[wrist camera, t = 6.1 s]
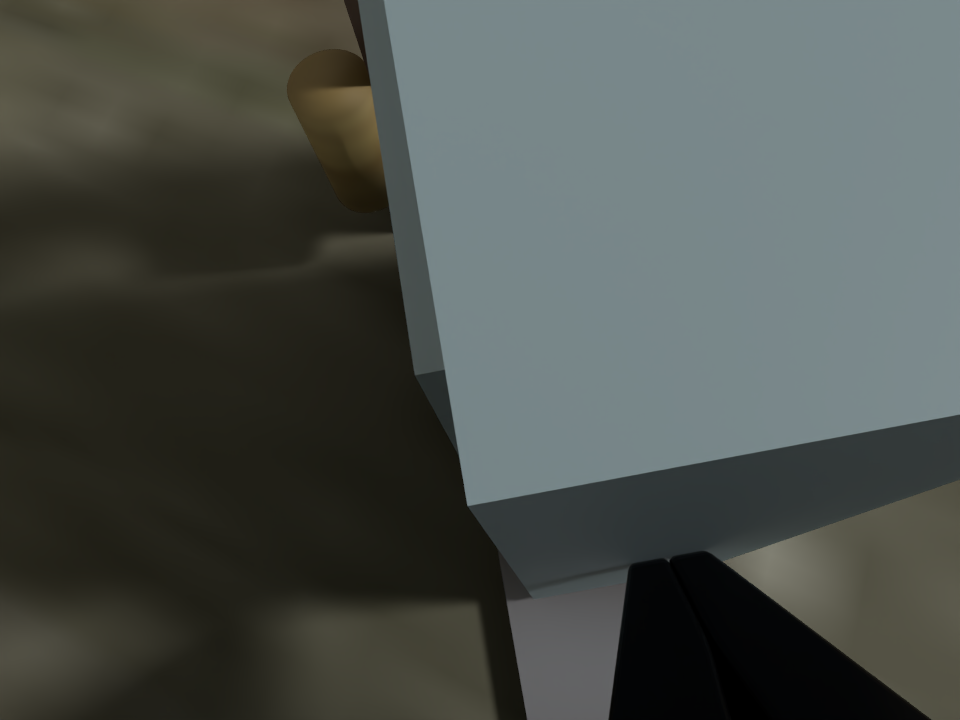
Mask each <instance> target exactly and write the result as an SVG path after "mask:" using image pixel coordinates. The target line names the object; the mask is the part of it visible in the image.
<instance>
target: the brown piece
mask: <svg viewBox="0 0 960 720" xmlns="http://www.w3.org/2000/svg"><path fill="white" fill-rule="evenodd" d="M344 2H345V5H346V8H347V11H348V14H349V17H350V20H351V23H352V26H353V29H354V32H355V35H356V38H357V41H358V44H359V47H360V50H361V53H362V56H363V60H364V61H363V60H362V59H361V58H360V57H359V56H357V55H355V54H354V53H351V52H349V51H346V50H340V49H329V50H323V51H319V52H317V53H314V54H312V55H310V56H308V57H307V58H305V59H304V60H302V61H301V62H300V63H299V64H298V65H297V66H296V67H295V69H294V70H293V72H292V73H291V75H290V77H289V80H288V85H287V94H288V98H289V101H290V103H291V105H292V107H293V109H294V111H295V113H296V115H297V117H298V119H299V121H300V123H301V125H302V127H303V129H304V131H305V133H306V135H307V137H308V139H309V141H310V143H311V145H312V147H313V149H314V151H315V153H316V155H317V157H318V159H319V161H320V163H321V165H322V167H323V169H324V171H325V173H326V175H327V177H328V179H329V181H330V183H331V185H332V187H333V189H334V191H335V193H336V195H337V197H338V199H339V200H340V202H341V203H342V204H343V205H344V206H346V207H347V208H349V209H350V210H353V211H356V212H361V213H371V212H376V211H379V210H382V209H384V208H386V207H387V206H389V202H388V196H387V189H386V182H385V176H384V169H383V163H382V156H381V149H380V143H379V136H378V130H377V123H376V116H375V110H374V103H373V97H372V90H371V83H370V77H369V70H368V63H367V57H366V50H365V44H364V37H363V30H362V24H361V17H360V11H359V4H358V0H344ZM497 550H498V548H497ZM498 555H499V561H500V567H501V573H502V578H503V584H504V590H505V595H506V601H507V607H508V613H509V618H510V624H511V630H512V636H513V641H514V647H515V653H516V658H517V664H518V670H519V676H520V681H521V687H522V693H523V698H524V704H525V710H526V716H527V720H608V718H609V711H610V703H611V696H612V688H613V681H614V673H615V666H616V658H617V650H618V643H619V635H620V628H621V620H622V613H623V605H624V598H625V590H626V583H621V584H616V585H610V586H605V587H599V588H594V589H588V590H583V591H577V592H572V593H566V594H561V595H555V596H550V597H545V598H539V599H533V598H532V596H531V595H530V594H529V592H528V591H527V589H526V588H525V586H524V585H523V584H522V582H521V581H520V579H519V578H518V577H517V575H516V574H515V572H514V571H513V570H512V568H511V567H510V565H509V564H508V563H507V561H506V560H505V558H504V557H503V555H502V554H501V553H500V551H499V550H498Z"/></svg>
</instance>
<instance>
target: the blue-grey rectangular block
mask: <svg viewBox="0 0 960 720" xmlns="http://www.w3.org/2000/svg"><path fill="white" fill-rule="evenodd" d="M358 4H359V11H360V17H361V24H362V30H363V37H364V44H365V50H366V57H367V63H368V70H369V77H370V83H371V90H372V97H373V103H374V110H375V116H376V123H377V130H378V136H379V143H380V149H381V156H382V163H383V169H384V176H385V182H386V189H387V196H388V202H389V209H390V215H391V222H392V229H393V235H394V242H395V248H396V255H397V262H398V268H399V275H400V281H401V288H402V295H403V301H404V308H405V315H406V321H407V328H408V334H409V341H410V348H411V354H412V361H413V367H414V374H415V377H416V379H417V381H418V382H419V384H420V386H421V388H422V390H423V391H424V393H425V395H426V397H427V399H428V401H429V402H430V404H431V406H432V408H433V410H434V412H435V413H436V415H437V417H438V419H439V421H440V423H441V424H442V426H443V428H444V430H445V432H446V434H447V435H448V437H449V439H450V441H451V443H452V445H453V446H454V448H455V450H456V452H457V454H458V456H459V458H460V464H461V470H462V476H463V482H464V488H465V494H466V500H467V506H468V508H469V509H470V510H471V512H472V513H473V515H474V516H475V517H476V519H477V520H478V522H479V523H480V524H481V526H482V527H483V529H484V530H485V531H486V533H487V534H488V536H489V537H490V539H491V540H492V541H493V543H494V544H495V546H496V547H497V548H498V550H499V551H500V553H501V554H502V555H503V557H504V558H505V560H506V561H507V563H508V564H509V565H510V567H511V568H512V570H513V571H514V572H515V574H516V575H517V577H518V578H519V579H520V581H521V582H522V584H523V585H524V586H525V588H526V589H527V591H528V592H529V594H530V595H531V596H532V598H533V599H539V598H545V597H550V596H555V595H561V594H566V593H572V592H577V591H583V590H588V589H594V588H599V587H605V586H610V585H616V584H621V583H627V575H628V569H629V567H630V565H631V564H633V563H637V562H643V561H648V560H654V559H659V558H663V559H666V560H667V561H668V562H669V560H670V559H671V558H672V557H673V556H676V555H681V554H687V553H692V552H698V551H707V552H709V553H711V554H713V555H714V556H716V557H717V558H718V559H719V560H721V561H725V560H728V559H730V558H733V557H736V556H739V555H742V554H745V553H748V552H751V551H754V550H757V549H759V548H762V547H765V546H768V545H771V544H774V543H777V542H780V541H783V540H786V539H789V538H791V537H794V536H797V535H800V534H803V533H806V532H809V531H812V530H815V529H818V528H820V527H823V526H826V525H829V524H832V523H835V522H838V521H841V520H844V519H847V518H849V517H852V516H855V515H858V514H861V513H864V512H867V511H870V510H873V509H876V508H879V507H881V506H884V505H887V504H890V503H893V502H896V501H899V500H902V499H905V498H908V497H910V496H913V495H916V494H919V493H922V492H925V491H928V490H931V489H934V488H937V487H939V486H942V485H945V484H948V483H951V482H954V481H957V480H960V0H358Z"/></svg>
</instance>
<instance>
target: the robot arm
mask: <svg viewBox="0 0 960 720" xmlns="http://www.w3.org/2000/svg"><path fill="white" fill-rule="evenodd" d="M608 720H931V719H930V718H929V717H927V716H926V715H925V714H923V713H922V712H921V711H919V710H918V709H917V708H915V707H914V706H913V705H911V704H910V703H909V702H907V701H906V700H905V699H903V698H902V697H901V696H899V695H898V694H897V693H895V692H894V691H893V690H891V689H890V688H889V687H888V686H886V685H885V684H884V683H882V682H881V681H880V680H878V679H877V678H876V677H874V676H873V675H872V674H870V673H869V672H868V671H866V670H865V669H864V668H862V667H861V666H860V665H858V664H857V663H856V662H854V661H853V660H852V659H850V658H849V657H848V656H847V655H845V654H844V653H843V652H841V651H840V650H839V649H837V648H836V647H835V646H833V645H832V644H831V643H829V642H828V641H827V640H825V639H824V638H823V637H821V636H820V635H819V634H817V633H816V632H815V631H813V630H812V629H811V628H809V627H808V626H807V625H805V624H804V623H803V622H802V621H800V620H799V619H798V618H796V617H795V616H794V615H792V614H791V613H790V612H788V611H787V610H786V609H784V608H783V607H782V606H780V605H779V604H778V603H776V602H775V601H774V600H772V599H771V598H770V597H768V596H767V595H766V594H764V593H763V592H762V591H761V590H759V589H758V588H757V587H755V586H754V585H753V584H751V583H750V582H749V581H747V580H746V579H745V578H743V577H742V576H741V575H739V574H738V573H737V572H735V571H734V570H733V569H731V568H730V567H729V566H727V565H726V564H725V563H723V562H722V561H721V560H719V559H718V558H717V557H716V556H714V555H713V554H711V553H709V552H707V551H698V552H692V553H687V554H681V555H676V556H673V557H672V558H671V559H670V560H669V562H668V561H667V560H666V559H663V558H659V559H654V560H648V561H643V562H637V563H633V564H631V565H630V567H629V569H628V575H627V583H626V590H625V598H624V605H623V613H622V620H621V628H620V635H619V643H618V650H617V658H616V666H615V673H614V681H613V688H612V696H611V703H610V711H609V718H608Z"/></svg>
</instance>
